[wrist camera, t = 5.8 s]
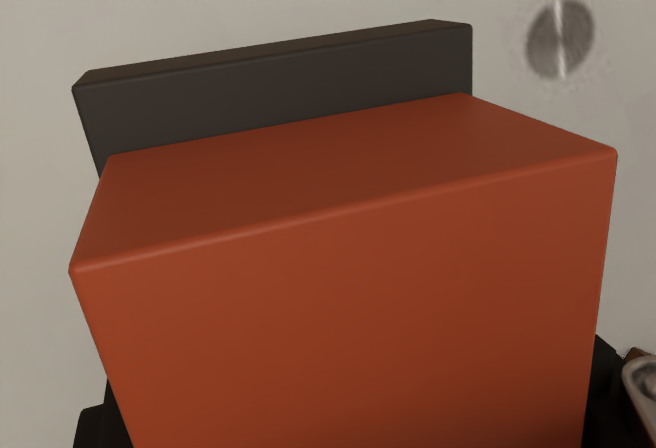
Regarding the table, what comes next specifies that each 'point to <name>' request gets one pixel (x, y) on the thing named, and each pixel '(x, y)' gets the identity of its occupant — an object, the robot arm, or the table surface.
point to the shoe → (339, 249)
